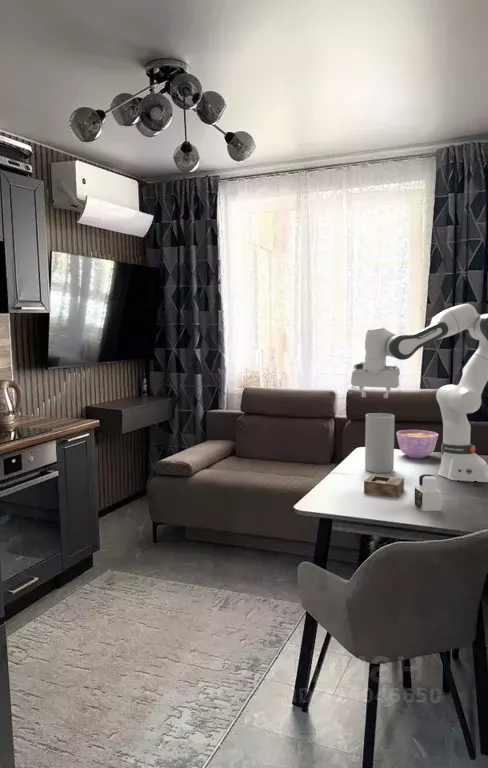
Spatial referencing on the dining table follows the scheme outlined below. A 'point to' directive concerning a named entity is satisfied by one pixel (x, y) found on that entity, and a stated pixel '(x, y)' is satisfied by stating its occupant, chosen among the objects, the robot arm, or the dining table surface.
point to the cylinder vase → (379, 443)
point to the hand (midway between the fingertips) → (374, 397)
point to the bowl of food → (417, 442)
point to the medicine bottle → (427, 494)
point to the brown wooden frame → (384, 485)
